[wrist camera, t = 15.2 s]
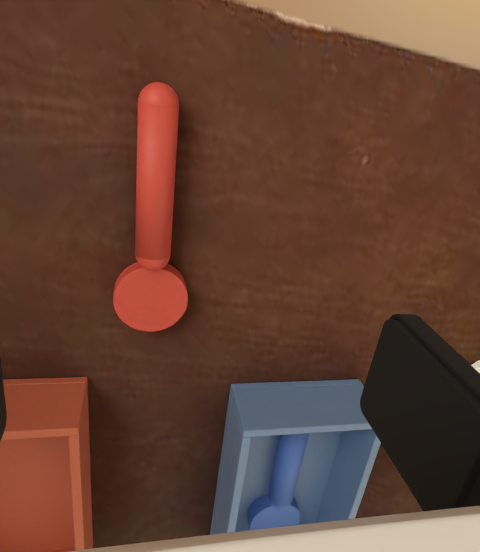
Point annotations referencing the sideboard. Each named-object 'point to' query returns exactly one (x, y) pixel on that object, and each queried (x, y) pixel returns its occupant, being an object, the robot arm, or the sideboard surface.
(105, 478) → the sideboard surface
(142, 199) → the red spoon
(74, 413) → the red bin
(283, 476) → the blue spoon
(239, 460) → the blue bin
